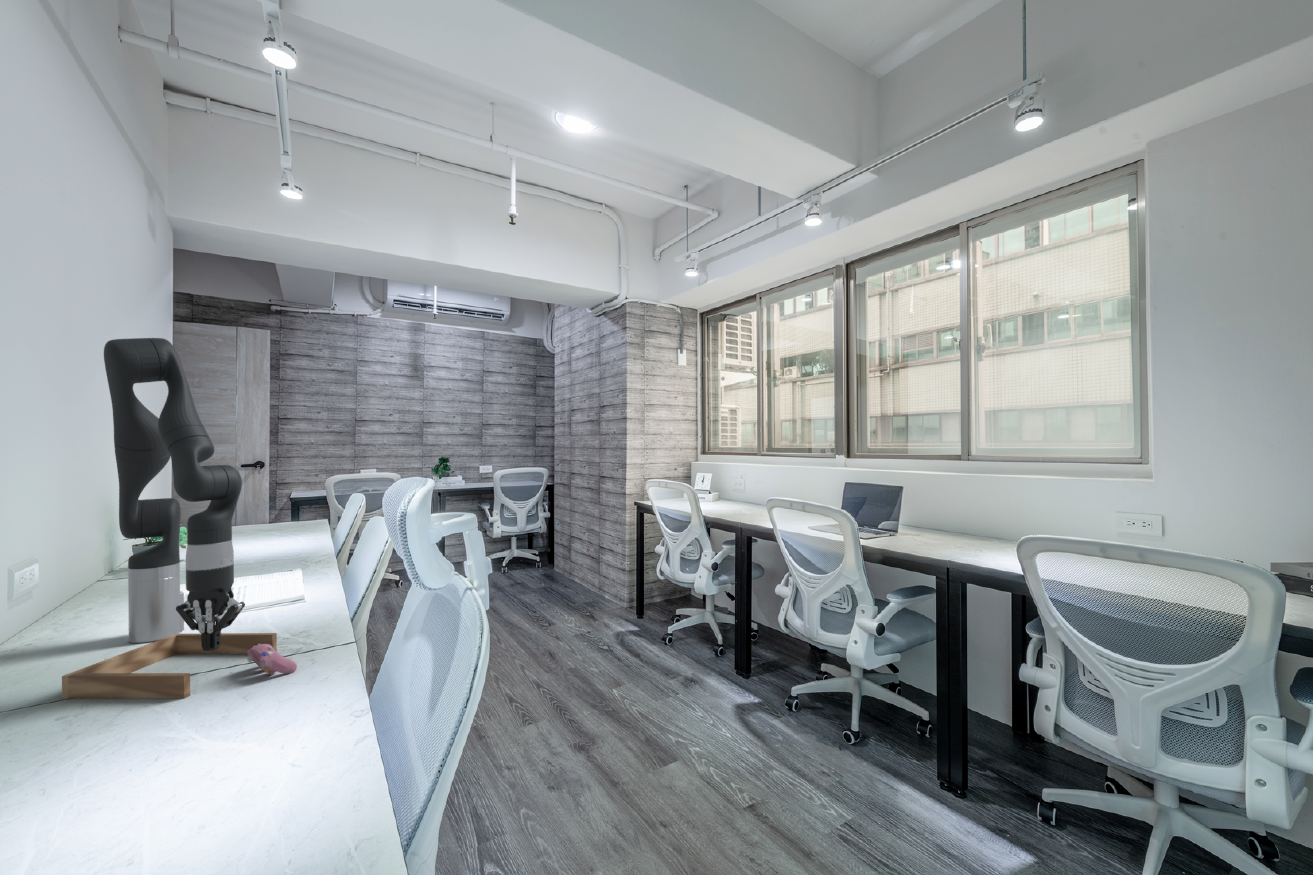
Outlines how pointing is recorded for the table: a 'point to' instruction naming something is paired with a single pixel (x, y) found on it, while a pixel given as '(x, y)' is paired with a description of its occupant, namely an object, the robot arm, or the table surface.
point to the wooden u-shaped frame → (116, 672)
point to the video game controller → (270, 659)
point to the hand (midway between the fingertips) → (211, 650)
